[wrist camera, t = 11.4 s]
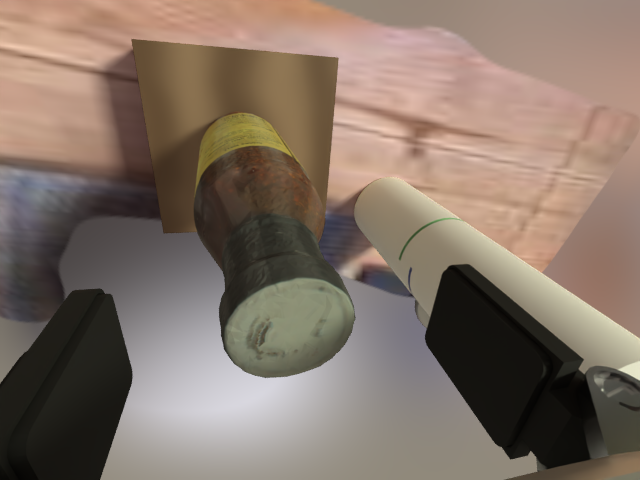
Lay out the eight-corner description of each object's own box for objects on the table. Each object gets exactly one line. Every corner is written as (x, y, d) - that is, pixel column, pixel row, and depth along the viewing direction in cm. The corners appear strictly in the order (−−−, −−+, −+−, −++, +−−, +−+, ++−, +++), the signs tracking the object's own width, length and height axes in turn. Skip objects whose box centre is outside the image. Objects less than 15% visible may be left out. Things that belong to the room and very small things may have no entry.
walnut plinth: (324, 58, 28) (338, 57, 25) (314, 210, 34) (324, 226, 31) (144, 42, 25) (131, 39, 21) (170, 214, 31) (163, 233, 28)
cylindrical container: (354, 241, 37) (522, 477, 16) (354, 181, 34) (568, 381, 13) (411, 231, 39) (636, 438, 17) (417, 173, 35) (706, 341, 14)
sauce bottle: (184, 151, 25) (97, 352, 8) (239, 89, 24) (270, 176, 7) (249, 204, 28) (283, 425, 12) (300, 152, 27) (421, 313, 10)
